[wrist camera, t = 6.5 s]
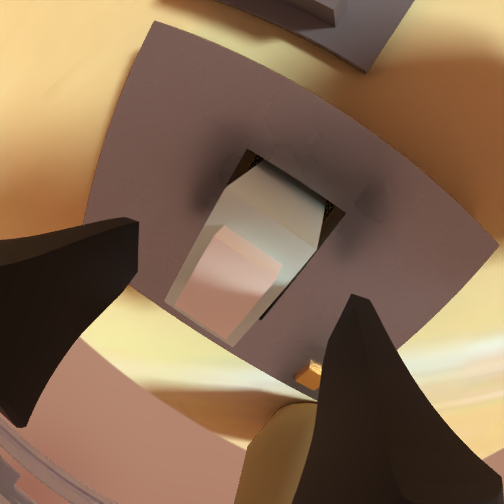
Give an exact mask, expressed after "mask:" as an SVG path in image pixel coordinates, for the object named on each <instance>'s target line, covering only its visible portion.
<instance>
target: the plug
mask: <svg viewBox="0 0 504 504" xmlns="http://www.w3.org/2000/svg"><path fill="white" fill-rule="evenodd" d="M325 205H326V199H325V198H324V197H322V196H321V195H319V194H318V193H316V192H315V191H313V190H312V189H310V188H309V187H307V186H306V185H304V184H303V183H301V182H300V181H298V180H297V179H295V178H294V177H292V176H291V175H289V174H287V173H286V172H284V171H283V170H281V169H280V168H278V167H276V166H275V165H273V164H272V163H270V162H268V161H267V160H263V161H262V162H260V163H259V164H257V165H256V166H255V167H253V168H252V169H250V170H249V171H248V172H246V173H245V174H244V175H242V176H241V177H239V178H238V179H237V180H235V181H234V182H233V183H231V184H230V185H228V186H227V187H226V188H225V190H224V191H223V193H222V195H221V196H220V198H219V200H218V202H217V203H216V205H215V207H214V209H213V211H212V212H211V214H210V216H209V218H208V219H207V221H206V223H205V225H204V227H203V228H202V230H201V232H200V234H199V236H198V238H197V239H196V241H195V243H194V245H193V247H192V249H191V250H190V252H189V254H188V256H187V258H186V260H185V262H184V264H183V265H182V267H181V269H180V271H179V273H178V275H177V277H176V279H175V281H174V283H173V284H172V286H171V288H170V290H169V292H168V294H167V296H166V298H165V300H164V302H166V303H167V304H168V305H170V306H171V307H173V308H174V309H176V310H177V311H178V312H180V313H181V314H183V315H184V316H186V317H187V318H189V319H190V320H192V321H193V322H194V323H196V324H197V325H199V326H200V327H202V328H203V329H205V330H206V331H208V332H209V333H211V334H213V335H214V336H216V337H217V338H219V339H220V340H222V341H223V342H225V343H226V344H228V345H230V346H231V347H234V346H235V345H236V343H237V342H238V341H239V340H240V339H241V338H242V337H243V336H244V334H245V333H246V332H247V331H248V330H249V329H250V328H251V327H252V325H253V324H254V323H255V322H256V321H257V320H258V319H259V317H260V316H261V315H262V314H263V313H264V312H265V311H266V309H267V308H268V307H269V306H270V305H271V304H272V302H273V301H274V300H275V299H276V298H277V297H278V295H279V294H280V293H281V292H282V291H283V290H284V288H285V287H286V286H287V285H288V284H289V282H290V281H291V280H292V279H293V278H294V276H295V275H296V274H297V273H298V272H299V271H300V269H301V268H302V267H303V266H304V265H305V263H306V262H307V261H308V260H309V258H310V257H311V256H312V255H313V254H314V252H315V251H316V250H317V246H318V241H319V236H320V231H321V226H322V221H323V215H324V210H325Z"/></svg>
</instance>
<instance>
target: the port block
mask: <svg viewBox="0 0 504 504" xmlns="http://www.w3.org/2000/svg"><path fill="white" fill-rule="evenodd" d="M257 155H259V156H260V157H262V158H264V159H265V160H267V161H268V162H270V163H272V164H273V165H275V166H276V167H278V168H280V169H281V170H283V171H284V172H286V173H287V174H289V175H291V176H292V177H294V178H295V179H297V180H298V181H300V182H301V183H303V184H304V185H306V186H307V187H309V188H310V189H312V190H313V191H315V192H316V193H318V194H319V195H321V196H322V197H324V198H325V199H327V200H328V201H330V202H331V203H333V204H334V205H335V207H334V208H333V210H332V211H331V212H330V214H329V215H328V216H327V218H326V219H325V221H324V222H323V223H322V226H321V231H320V236H319V241H318V246H317V250H316V251H315V252H314V254H313V255H312V256H311V257H310V258H309V260H308V261H307V262H306V263H305V265H304V266H303V267H302V268H301V269H300V271H299V272H298V273H297V274H296V275H295V276H294V278H293V279H292V280H291V281H290V282H289V284H288V285H287V286H286V287H285V288H284V290H283V291H282V292H281V293H280V294H279V295H278V297H277V298H276V299H275V300H274V301H273V302H272V304H271V305H270V306H269V307H268V308H267V309H266V311H265V312H264V313H263V314H262V315H261V316H260V317H259V319H258V320H257V321H256V322H255V323H254V324H253V325H252V327H251V328H250V329H249V330H248V331H247V332H246V333H245V334H244V336H243V337H242V338H241V339H240V340H239V341H238V342H237V343H236V345H235V346H234V347H231V346H230V345H228V344H226V343H225V342H223V341H222V340H220V339H219V338H217V337H216V336H214V335H213V334H211V333H209V332H208V331H206V330H205V329H203V328H202V327H200V326H199V325H197V324H196V323H194V322H193V321H192V320H190V319H189V318H187V317H186V316H184V315H183V314H181V313H180V312H178V311H177V310H176V309H174V308H173V307H171V306H170V305H168V304H167V303H166V302H164V300H165V298H166V296H167V294H168V292H169V290H170V288H171V286H172V284H173V283H174V281H175V279H176V277H177V275H178V273H179V271H180V269H181V267H182V265H183V264H184V262H185V260H186V258H187V256H188V254H189V252H190V250H191V249H192V247H193V245H194V243H195V241H196V239H197V238H198V236H199V234H200V232H201V230H202V228H203V227H204V225H205V223H206V221H207V219H208V218H209V216H210V214H211V212H212V211H213V209H214V207H215V205H216V203H217V202H218V200H219V198H220V196H221V195H222V193H223V191H224V190H225V188H226V187H227V186H228V185H230V184H231V183H233V182H234V181H235V180H237V179H238V178H239V177H241V176H242V175H244V174H245V173H246V172H247V171H248V169H249V168H250V166H251V164H252V162H253V161H254V159H255V157H256V156H257ZM119 217H127V218H130V219H133V220H136V221H139V244H138V272H137V274H136V275H135V276H134V278H133V279H132V280H131V282H130V283H129V285H130V286H131V287H133V288H134V289H136V290H137V291H138V292H140V293H141V294H143V295H144V296H145V297H147V298H148V299H150V300H151V301H153V302H154V303H155V304H157V305H158V306H160V307H161V308H163V309H164V310H166V311H167V312H168V313H170V314H171V315H173V316H174V317H176V318H177V319H179V320H180V321H182V322H183V323H185V324H186V325H188V326H189V327H191V328H193V329H194V330H196V331H197V332H199V333H200V334H202V335H203V336H205V337H207V338H208V339H210V340H211V341H213V342H215V343H216V344H218V345H219V346H221V347H223V348H224V349H226V350H227V351H229V352H231V353H232V354H234V355H236V356H237V357H239V358H241V359H242V360H244V361H246V362H248V363H249V364H251V365H253V366H254V367H256V368H258V369H260V370H261V371H263V372H265V373H267V374H268V375H270V376H272V377H274V378H276V379H277V380H279V381H281V382H283V383H285V384H286V385H288V386H290V387H292V388H294V389H296V390H298V391H300V392H301V393H303V394H305V395H307V396H309V397H311V398H313V399H315V400H317V401H318V395H319V387H320V378H321V369H322V364H323V360H324V355H325V351H326V347H327V342H328V339H329V338H330V336H331V334H332V332H333V330H334V328H335V326H336V324H337V322H338V320H339V318H340V316H341V314H342V312H343V310H344V308H345V306H346V304H347V301H348V299H349V297H350V295H351V293H352V294H355V295H358V296H361V297H364V298H367V299H370V301H371V303H372V305H373V306H374V308H375V310H376V312H377V314H378V316H379V318H380V320H381V322H382V324H383V326H384V328H385V330H386V331H387V333H388V335H389V337H390V339H391V341H392V343H393V345H394V347H395V348H396V350H397V349H398V348H400V347H401V346H402V345H403V344H404V343H405V342H406V341H408V340H409V339H410V338H411V337H412V336H413V335H414V334H415V333H417V332H418V331H419V330H420V329H421V328H422V327H423V326H424V325H425V324H426V323H427V322H429V321H430V320H431V319H432V318H433V317H434V316H435V315H436V314H437V313H438V312H439V311H440V310H441V309H442V308H443V307H444V306H445V305H446V304H447V303H448V302H449V301H450V300H451V299H452V298H453V297H454V296H455V295H456V294H457V293H458V292H459V291H460V290H461V289H462V288H463V286H464V285H465V284H466V283H467V282H468V281H469V280H470V279H471V278H472V277H473V276H474V275H475V273H476V272H477V271H478V270H479V269H480V268H481V267H482V265H483V264H484V263H485V262H486V261H487V260H488V258H489V257H490V256H491V255H492V254H493V252H494V251H495V250H496V249H497V248H498V246H499V245H498V243H497V242H496V241H495V240H494V239H493V238H492V237H491V236H490V235H489V233H488V232H487V231H486V230H485V229H484V228H483V227H482V226H481V225H480V224H479V223H478V222H477V221H476V220H475V219H474V218H473V217H472V216H471V215H470V214H469V213H468V212H467V211H466V210H465V209H464V208H463V207H462V206H461V205H460V204H459V203H458V202H457V201H456V200H455V199H454V198H453V197H451V196H450V195H449V194H448V193H447V192H446V191H445V190H444V189H443V188H442V187H441V186H439V185H438V184H437V183H436V182H435V181H434V180H433V179H431V178H430V177H429V176H428V175H427V174H426V173H424V172H423V171H422V170H421V169H420V168H418V167H417V166H416V165H415V164H414V163H412V162H411V161H410V160H409V159H407V158H406V157H405V156H404V155H402V154H401V153H400V152H399V151H397V150H396V149H395V148H393V147H392V146H391V145H389V144H388V143H387V142H385V141H384V140H383V139H381V138H380V137H379V136H377V135H376V134H375V133H373V132H372V131H370V130H369V129H368V128H366V127H365V126H363V125H362V124H360V123H359V122H358V121H356V120H355V119H353V118H352V117H350V116H349V115H347V114H346V113H344V112H343V111H341V110H340V109H338V108H336V107H335V106H333V105H332V104H330V103H329V102H327V101H325V100H324V99H322V98H320V97H319V96H317V95H316V94H314V93H312V92H311V91H309V90H307V89H305V88H304V87H302V86H300V85H298V84H297V83H295V82H293V81H291V80H290V79H288V78H286V77H284V76H282V75H280V74H279V73H277V72H275V71H273V70H271V69H269V68H267V67H265V66H263V65H261V64H259V63H257V62H255V61H253V60H251V59H249V58H247V57H245V56H243V55H241V54H239V53H236V52H234V51H232V50H230V49H228V48H225V47H223V46H221V45H218V44H216V43H214V42H211V41H209V40H207V39H204V38H202V37H199V36H197V35H194V34H192V33H189V32H186V31H184V30H181V29H178V28H175V27H172V26H169V25H167V24H164V23H161V22H157V21H154V22H153V24H152V26H151V28H150V30H149V32H148V34H147V36H146V38H145V40H144V42H143V44H142V47H141V49H140V51H139V53H138V55H137V57H136V60H135V62H134V64H133V66H132V69H131V71H130V73H129V76H128V78H127V81H126V83H125V86H124V88H123V91H122V93H121V96H120V98H119V101H118V104H117V106H116V109H115V112H114V115H113V117H112V120H111V123H110V126H109V129H108V132H107V135H106V138H105V141H104V145H103V148H102V151H101V154H100V158H99V161H98V165H97V168H96V172H95V175H94V179H93V183H92V187H91V191H90V195H89V199H88V203H87V208H86V212H85V217H84V221H83V225H85V224H89V223H94V222H98V221H102V220H107V219H112V218H119Z"/></svg>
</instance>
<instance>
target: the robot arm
mask: <svg viewBox="0 0 504 504" xmlns="http://www.w3.org/2000/svg"><path fill="white" fill-rule="evenodd" d="M138 244H139V221H136V220H133V219H130V218H127V217H119V218H112V219H107V220H102V221H98V222H94V223H89V224H85V225H81V226H77V227H73V228H68V229H64V230H59V231H55V232H50V233H46V234H41V235H36V236H30V237H23V238H17V239H8V240H0V412H1V413H2V414H3V415H4V416H5V417H6V418H7V419H8V420H9V421H10V422H11V423H12V424H13V425H15V426H16V427H18V428H23V427H26V426H27V423H28V421H29V418H30V416H31V414H32V412H33V409H34V407H35V405H36V403H37V401H38V399H39V397H40V395H41V393H42V391H43V390H44V388H45V386H46V384H47V383H48V381H49V379H50V377H51V376H52V374H53V373H54V371H55V369H56V368H57V366H58V365H59V363H60V362H61V360H62V359H63V357H64V356H65V355H66V353H67V352H68V350H69V349H70V348H71V346H72V345H73V344H74V342H75V341H76V340H77V339H78V337H79V336H80V335H81V334H82V333H83V332H84V331H85V330H86V329H87V328H88V327H89V325H90V324H91V323H92V322H93V321H94V320H95V319H96V318H97V317H98V316H99V315H100V314H101V313H102V312H103V311H104V310H105V309H106V308H107V307H108V306H109V305H110V304H111V303H112V302H113V301H114V300H115V299H116V298H117V297H118V296H119V295H120V294H121V293H122V292H123V291H124V289H125V288H126V287H127V286H128V284H129V283H130V282H131V280H132V279H133V278H134V276H135V275H136V274H137V272H138ZM0 446H1V447H2V448H3V449H4V450H5V451H6V452H8V454H10V455H11V456H12V457H13V458H14V459H15V460H16V461H17V462H18V463H20V464H21V465H22V466H23V467H24V468H25V469H27V470H28V471H29V472H30V473H31V474H33V475H34V476H35V477H36V478H37V479H39V480H40V481H41V482H42V483H44V484H45V485H46V486H48V487H49V488H50V489H52V490H53V491H54V492H56V493H57V494H58V495H60V496H61V497H63V498H64V499H65V500H67V501H69V502H70V503H71V504H117V503H116V502H114V501H112V500H110V499H109V498H107V497H105V496H103V495H101V494H100V493H98V492H97V491H95V490H93V489H91V488H90V487H88V486H87V485H85V484H84V483H82V482H81V481H79V480H78V479H76V478H75V477H73V476H72V475H70V474H69V473H67V472H66V471H65V470H63V469H62V468H60V467H59V466H58V465H56V464H55V463H54V462H52V461H51V460H50V459H48V458H47V457H46V456H44V455H43V454H42V453H41V452H39V451H38V450H37V449H35V447H33V446H32V445H31V444H30V443H28V442H27V441H26V440H25V439H24V438H23V437H22V436H20V435H19V434H18V433H17V432H16V431H15V430H14V429H13V428H11V427H10V426H9V425H8V424H7V423H6V422H5V421H4V420H3V419H2V418H1V417H0ZM19 478H20V474H19V473H18V472H17V471H16V470H15V469H14V468H13V467H12V466H11V465H10V464H9V463H8V462H6V461H5V460H4V459H3V458H2V457H1V456H0V504H38V503H37V502H35V501H34V500H33V499H31V498H30V497H29V496H28V495H26V494H25V493H24V492H23V491H22V490H20V489H19V488H18V487H17V486H16V485H15V483H16V482H17V480H18V479H19ZM291 504H504V497H503V484H502V478H501V476H500V475H498V474H497V473H496V472H495V471H494V470H493V469H492V468H490V467H489V466H488V465H487V464H486V463H485V462H483V461H482V460H481V459H480V458H479V457H478V456H477V455H476V454H475V453H473V452H472V450H471V449H470V448H469V447H468V446H467V445H466V444H465V443H464V442H463V441H462V440H461V439H460V438H459V437H458V436H457V435H456V434H455V433H454V432H453V430H452V429H451V428H450V427H449V426H448V425H447V423H446V422H445V421H444V420H443V418H442V417H441V416H440V415H439V414H438V412H437V411H436V410H435V409H434V407H433V406H432V405H431V403H430V402H429V401H428V399H427V398H426V396H425V395H424V393H423V392H422V391H421V389H420V388H419V386H418V385H417V383H416V382H415V380H414V379H413V377H412V376H411V374H410V372H409V371H408V369H407V367H406V366H405V364H404V362H403V361H402V359H401V357H400V356H399V354H398V352H397V350H396V348H395V347H394V345H393V343H392V341H391V339H390V337H389V335H388V333H387V331H386V330H385V328H384V326H383V324H382V322H381V320H380V318H379V316H378V314H377V312H376V310H375V308H374V306H373V305H372V303H371V301H370V299H367V298H364V297H361V296H358V295H355V294H352V293H351V295H350V297H349V299H348V301H347V304H346V306H345V308H344V310H343V312H342V314H341V316H340V318H339V320H338V322H337V324H336V326H335V328H334V330H333V332H332V334H331V336H330V338H329V339H328V342H327V347H326V351H325V355H324V360H323V364H322V369H321V378H320V387H319V395H318V403H317V411H316V419H315V426H314V431H313V437H312V441H311V445H310V448H309V452H308V455H307V459H306V462H305V466H304V469H303V472H302V475H301V478H300V481H299V484H298V487H297V490H296V493H295V495H294V498H293V501H292V503H291Z"/></svg>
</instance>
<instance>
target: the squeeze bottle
mask: <svg viewBox="0 0 504 504" xmlns="http://www.w3.org/2000/svg"><path fill="white" fill-rule="evenodd" d="M316 411H317V404H314V403H295V404H291V405H288V406H285V407H282V408H280V409H279V410H278V411H277V412H276V413H275V414H274V415H273V416H272V417H271V419H270V420H269V421H268V422H267V423H266V425H265V426H264V427H263V428H262V430H261V431H260V432H259V433H258V434H257V436H256V437H255V438H254V439H253V440H252V442H251V443H250V444H249V445H248V447H247V451H246V456H245V460H244V464H243V469H242V473H241V477H240V481H239V486H238V489H237V493H236V498H235V502H234V504H291V503H292V501H293V498H294V495H295V493H296V490H297V487H298V484H299V481H300V478H301V475H302V472H303V469H304V466H305V462H306V459H307V455H308V452H309V448H310V445H311V441H312V437H313V431H314V426H315V419H316Z"/></svg>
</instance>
